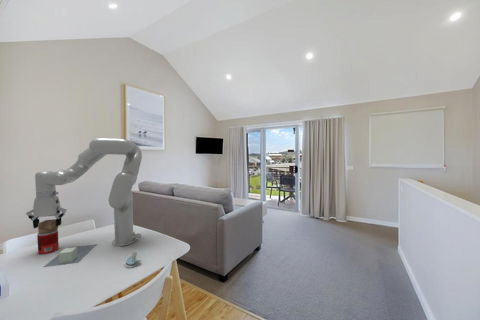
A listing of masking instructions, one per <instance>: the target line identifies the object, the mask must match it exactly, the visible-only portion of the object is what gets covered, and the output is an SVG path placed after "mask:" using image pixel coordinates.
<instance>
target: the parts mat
mask: <svg viewBox="0 0 480 320" xmlns="http://www.w3.org/2000/svg"><path fill="white" fill-rule="evenodd" d="M97 245H98V243H97V244H87V245H85V244H84V245H76V246H75V247H77V258H76V259H74V260H73V261H72V262H69V263H61V264H59V254H58V255H57V256H55V257H54V258H52V260H50V261H49V262H48V263H46V264H45V265H43V268H48V267H58V266H63V265H71V264H72V265H73V264H78V263H80V262H81V261H82V260H83V259H84V258H85V257H86V256H87V255H88V254H89V253H90V252H91V251H92V250H93V249H94V248H95V247H96V246H97ZM73 247H74V246H68V247H67V248H73Z"/></svg>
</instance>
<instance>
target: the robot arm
mask: <svg viewBox="0 0 480 320" xmlns="http://www.w3.org/2000/svg"><path fill="white" fill-rule="evenodd" d="M107 155H121V156H123V155H125V160H124V161H123V166H122V169H121V172H119V173H117V175H116V176H115V177H114V179H113V181H112V186H111V188H110V191H109V196H108V205H109V206H110V207H111V208H112V209H113V224H114V239H113V240H112V241H111V245H112V247H126V246H128V245H132V244H134V243H135V242H136V241H137V239H141V238H142V234H141V233H136V231H134V210H133V208H134V194H133V192H132V189H133V186H134V185H136V183H137V179H138V176H139V171H140V169H141V168H140V167H141V163H142V159H143V157H142V155H143V154H142V150H141V149H140V147H139V146H138V144H136V143H135V142H134V141H132V140H128V139H124V138H104V137H103V138H102V137H97V138H93V139H92V140H91V141H90V142H89V144H88V147H87V148H86V149H85V150H83V151H82V152H80V153H79V154H78V155H77V160H76V162H75V163H73V164H72V165H71V166H69V167H68V168H67V169H64V170H63V169H62V170H58V171H51V170H46V171H38V172H36V173H35V175H34V180H35V198H34V200H33V205H32V206H33V207H32V209H31V210H29V211H27V212H26V213H25V215H27V217H28V218H29V219H30V220H31V222H32V227H33V229H36V228H38V223H40V217H41V218H43V217H54V218H55V219H56V227H57V226H58V227H59V226H62V218H63V217H64V216H65V214H66V213H67V209H66V208H65V207H62V206H61V203H60V199H59V196H58V195H59V192H58V191H57V190H56V188H57V187H56V186H63V185H67V184H70V183H73V182H75V181H76V180H78V179H80V178H81V177H82V176H83V175H84V174H86V173H87V172H88V171H89V170H90V169H91V168H92V167H93V166H94V165H95V164H96V163H98V162H99V161H100V160H102V159H103V158H104V157H106V156H107Z"/></svg>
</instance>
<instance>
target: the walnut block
mask: <svg viewBox="0 0 480 320" xmlns="http://www.w3.org/2000/svg"><path fill="white" fill-rule="evenodd" d="M56 219H57V218H55V219H45V220H42V221H41V222H40V221H39V223H38V227H37V228H38V233H39V234H44V233H52V232H54V231H55V230H57V229H58V230H59V226H57V227H56Z"/></svg>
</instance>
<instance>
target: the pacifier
mask: <svg viewBox="0 0 480 320" xmlns="http://www.w3.org/2000/svg"><path fill="white" fill-rule="evenodd" d="M137 254H138V252H137V251H136V250H135V249H134V250H132V252H131V256H129V257H128V258H127V259H126V262H125V263H124V265H123V266H124V267H125V268H128V269H130V268H134V267H136V266H137V264H139V262H141V261H142V260H141V259H138V258H137Z"/></svg>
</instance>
